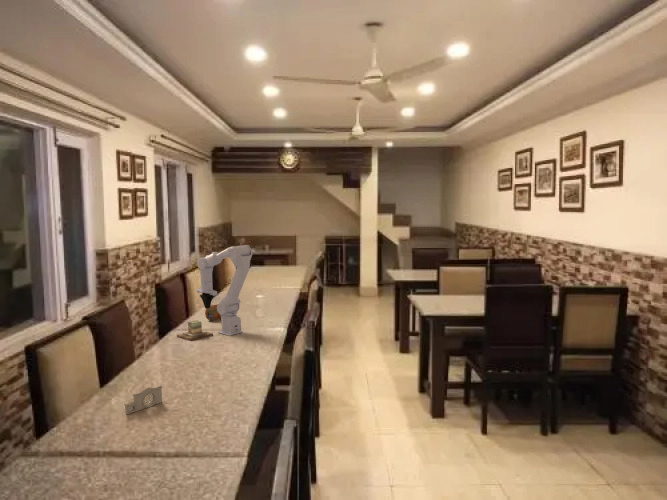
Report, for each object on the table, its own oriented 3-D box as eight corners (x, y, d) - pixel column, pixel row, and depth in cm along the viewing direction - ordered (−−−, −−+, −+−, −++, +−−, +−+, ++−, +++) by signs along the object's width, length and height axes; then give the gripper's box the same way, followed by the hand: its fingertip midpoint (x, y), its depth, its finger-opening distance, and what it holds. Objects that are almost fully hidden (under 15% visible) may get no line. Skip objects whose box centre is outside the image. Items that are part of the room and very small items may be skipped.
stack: (201, 333, 235) (201, 321, 235) (193, 335, 232) (192, 323, 231) (196, 332, 238) (196, 320, 238) (188, 334, 235) (187, 321, 234)
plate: (213, 335, 235) (212, 331, 235) (190, 341, 227) (190, 337, 226) (198, 331, 244) (198, 328, 243) (176, 336, 235) (176, 333, 234)
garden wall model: (127, 415, 146) (125, 395, 146) (124, 413, 148) (122, 394, 147) (163, 402, 156) (162, 383, 155) (160, 401, 157) (159, 382, 156)
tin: (208, 322, 264) (207, 306, 263) (204, 321, 265) (203, 306, 265) (230, 316, 275) (229, 301, 275) (226, 316, 277) (225, 301, 277)
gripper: (191, 281, 248) (192, 307, 250) (208, 283, 239) (209, 311, 240) (203, 279, 254) (204, 305, 255) (220, 281, 244) (221, 309, 245)
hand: (207, 308), depth 248 cm, fingers closed
